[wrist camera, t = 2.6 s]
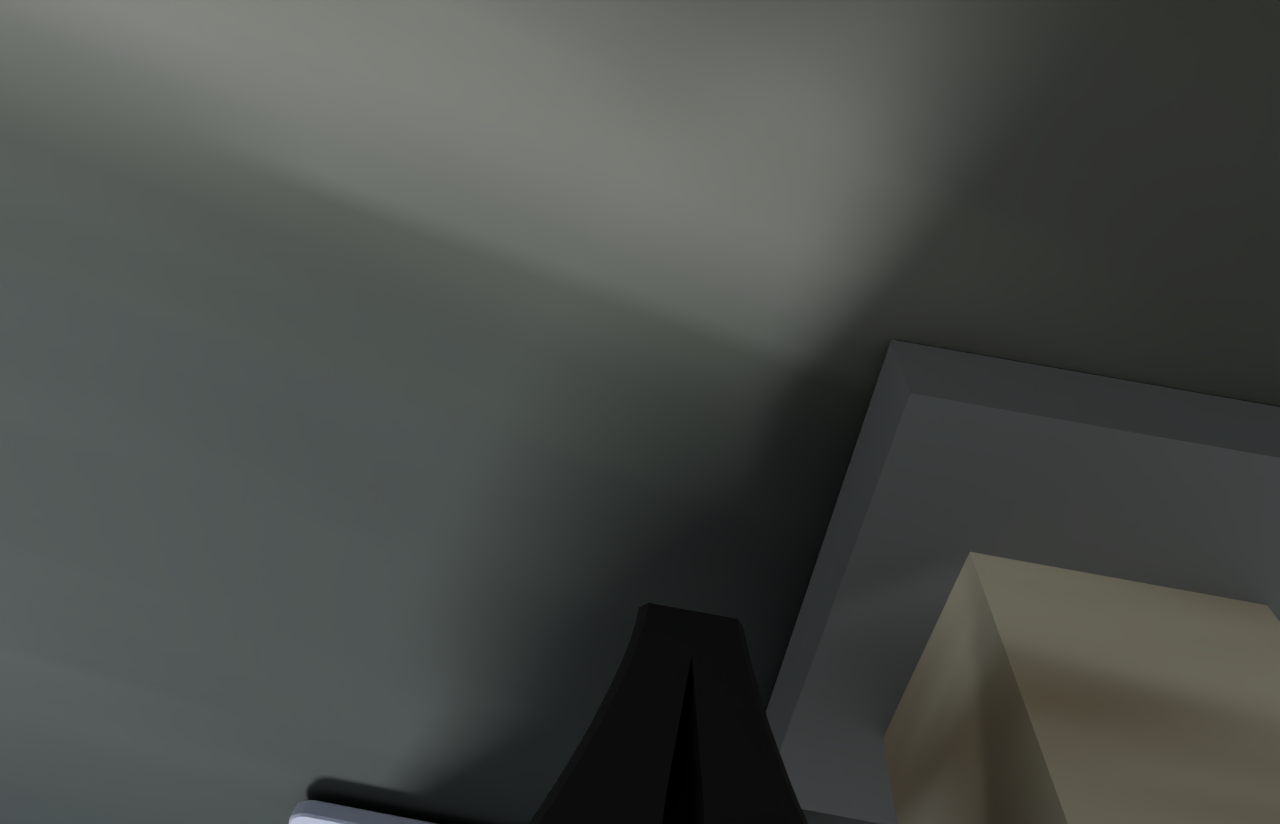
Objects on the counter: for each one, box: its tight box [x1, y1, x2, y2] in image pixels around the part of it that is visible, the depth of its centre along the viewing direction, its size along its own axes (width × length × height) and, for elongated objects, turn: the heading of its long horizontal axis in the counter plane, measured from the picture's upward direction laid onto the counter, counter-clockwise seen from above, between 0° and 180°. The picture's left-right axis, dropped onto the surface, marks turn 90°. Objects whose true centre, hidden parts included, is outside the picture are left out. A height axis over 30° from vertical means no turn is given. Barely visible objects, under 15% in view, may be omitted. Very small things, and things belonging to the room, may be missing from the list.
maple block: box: [883, 552, 1280, 824], centre depth 10 cm, size 4×4×4 cm
